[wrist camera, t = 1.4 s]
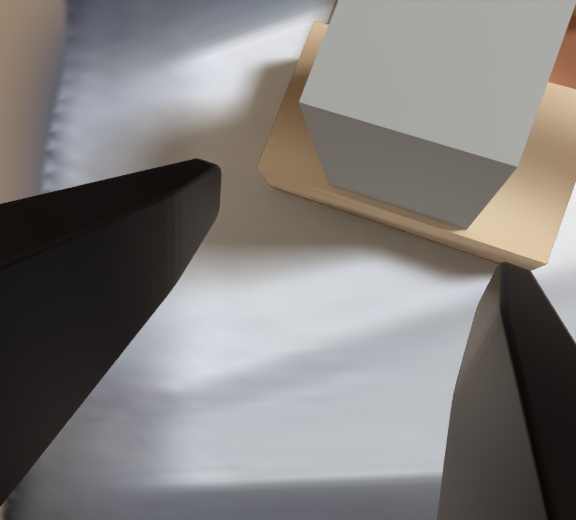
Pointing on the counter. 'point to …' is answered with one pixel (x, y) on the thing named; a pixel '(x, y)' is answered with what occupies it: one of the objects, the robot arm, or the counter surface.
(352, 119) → the gray block
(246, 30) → the counter surface
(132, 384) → the counter surface
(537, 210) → the trap box
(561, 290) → the counter surface
